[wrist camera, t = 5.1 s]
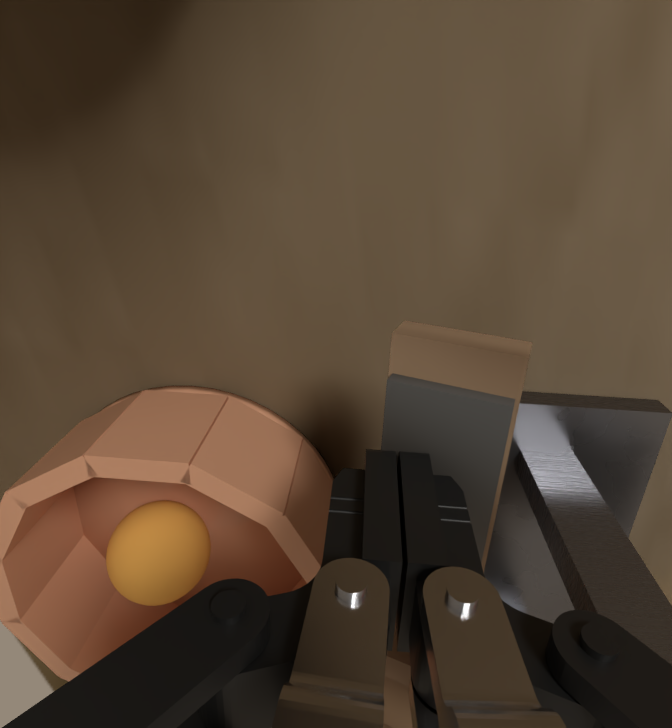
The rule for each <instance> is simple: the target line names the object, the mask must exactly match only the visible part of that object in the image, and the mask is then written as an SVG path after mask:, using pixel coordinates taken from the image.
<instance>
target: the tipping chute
mask: <svg viewBox="0 0 672 728" xmlns="http://www.w3.org/2000/svg"><path fill="white" fill-rule="evenodd" d="M532 343H533V342H528V341H522V340H516V339H510V338H504V337H499V336H493V335H487V334H481V333H475V332H469V331H463V330H457V329H452V328H446V327H440V326H434V325H428V324H422V323H416V322H410V321H404V322H403V323H402V324H400V325H399V326H398V327H397V328H396V329H395V330H394V331H393V332H392V339H391V350H390V362H389V373H388V379H387V388H386V400H385V411H384V423H383V434H382V446H381V450H387V451H395V452H396V464H397V460H398V453H399V451H402V452H416V453H429V455H430V459H431V465H432V471H433V475H444V476H451V477H452V478H453V479H454V480H455V482H456V483H457V484H458V485H459V486H460V488H461V489H462V490H463V492H464V496H465V500H466V504H467V510H468V512H469V516H470V524H472V528H473V532H474V536H475V540H476V544H477V548H478V552H479V556H480V561H481V565H482V569H483V573H484V569H485V565H486V560H487V555H488V551H489V546H490V541H491V536H492V532H493V527H494V522H495V518H496V513H497V508H498V503H499V499H500V494H501V489H502V485H503V480H504V475H505V470H506V466H507V461H508V456H509V451H510V447H511V442H512V437H513V433H514V428H515V423H516V418H517V414H518V409H519V404H520V400H521V395H522V390H523V385H524V381H525V376H526V371H527V367H528V362H529V357H530V352H531V348H532ZM410 674H411V665H410V652H399V651H397V639H396V622H395V630H394V638H393V647H392V651H387V656H386V665H385V679H384V698H383V699H384V721H383V728H413V727H412V719H411V711H410V703H409V695H408V688H409V681H410Z"/></svg>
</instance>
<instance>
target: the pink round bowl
mask: <svg viewBox="0 0 672 728" xmlns="http://www.w3.org/2000/svg"><path fill="white" fill-rule="evenodd" d="M333 480H334V478H333V476H332V474H331V472H330V470H329V468H328V466H327V464H326V462H325V461H324V459H323V458H322V457H321V455H320V454H319V452H318V451H317V450H316V448H315V447H314V446H313V445H312V444H311V443H310V441H309V440H308V439H307V438H306V437H305V436H304V435H303V434H302V433H301V432H300V431H299V430H297V429H296V428H295V427H294V426H293V425H291V424H290V423H289V422H288V421H287V420H285V419H283V418H282V417H280V416H279V415H277V414H276V413H274V412H273V411H271V410H270V409H268V408H266V407H264V406H262V405H260V404H258V403H256V402H254V401H252V400H249V399H246V398H244V397H241V396H238V395H235V394H233V393H229V392H225V391H221V390H217V389H212V388H205V387H197V386H165V387H157V388H151V389H147V390H143V391H139V392H135V393H132V394H130V395H127V396H125V397H123V398H120V399H118V400H116V401H115V402H113V403H111V404H110V405H108V406H106V407H104V408H103V409H102V410H101V411H100V412H98V413H97V414H95V415H93V416H91V417H89V418H86V419H84V420H82V421H80V422H79V423H78V424H77V425H76V426H75V427H74V428H73V429H72V430H71V431H70V432H69V433H68V434H67V435H66V436H64V437H63V438H62V439H61V440H60V441H59V442H58V443H57V444H56V445H55V446H54V447H53V448H52V449H51V450H50V451H49V452H47V453H46V454H45V455H44V456H43V457H42V458H41V459H40V460H39V461H38V462H37V463H36V464H35V465H34V466H33V467H32V468H30V469H29V470H28V471H27V472H26V473H25V474H24V475H23V476H22V477H21V478H20V479H19V480H18V481H17V482H16V483H15V484H14V485H12V486H11V487H10V488H9V489H8V490H7V491H6V492H5V493H4V496H3V498H2V501H1V503H0V620H1V622H2V624H4V626H6V627H7V628H8V629H9V630H10V631H11V632H12V633H13V634H14V635H15V636H16V637H17V638H18V639H19V640H20V641H21V642H22V643H23V644H24V645H26V646H27V647H28V648H29V649H30V650H31V651H32V652H33V653H34V654H35V655H36V656H37V657H38V658H39V659H40V660H41V661H42V662H43V663H44V664H46V665H47V666H48V667H49V668H50V669H51V670H52V671H53V672H54V673H55V674H56V675H57V676H60V678H62V679H64V680H67V681H70V680H72V679H73V678H75V677H76V676H78V675H79V674H81V673H82V672H84V671H85V670H86V669H88V668H89V667H91V666H92V665H94V664H95V663H97V662H98V661H100V660H101V659H102V658H104V657H105V656H107V655H108V654H110V653H111V652H113V651H114V650H116V649H117V648H118V647H120V646H121V645H123V644H124V643H126V642H127V641H129V640H130V639H131V638H133V637H134V636H136V635H137V634H139V633H140V632H142V631H143V630H145V629H146V628H147V627H149V626H150V625H152V624H153V623H155V622H156V621H158V620H159V619H161V618H162V617H163V616H165V615H166V614H168V613H169V612H171V611H172V610H174V609H175V608H177V607H178V606H179V605H181V604H182V603H184V602H185V601H187V600H188V599H190V598H191V597H192V596H194V595H195V594H197V593H198V592H200V591H201V590H203V589H204V588H206V587H207V586H209V585H211V584H213V583H215V582H217V581H221V580H225V579H235V578H238V579H245V580H248V581H251V582H253V583H255V584H257V585H258V586H260V587H261V588H262V589H263V590H264V591H265V593H266V595H267V596H272V595H277V594H282V593H287V592H290V591H294V590H296V589H299V588H301V587H303V586H304V585H306V584H307V583H309V582H310V581H311V580H312V579H313V578H314V577H315V576H316V574H317V573H318V571H319V570H320V567H321V564H322V559H323V552H324V544H325V537H326V529H327V521H328V514H329V506H330V499H331V491H332V483H333ZM160 500H169V501H175V502H179V503H182V504H184V505H187V506H188V507H190V508H191V509H193V510H194V511H195V512H196V513H197V514H198V515H199V516H200V517H201V518H202V519H203V521H204V523H205V525H206V527H207V529H208V532H209V535H210V542H211V552H210V558H209V562H208V565H207V568H206V570H205V572H204V574H203V576H202V578H201V579H200V580H199V582H198V583H197V584H196V585H195V586H194V588H193V589H192V590H191V591H189V592H188V593H187V594H186V595H184V596H182V597H181V598H179V599H178V600H175V601H173V602H171V603H167V604H164V605H157V606H147V605H141V604H137V603H135V602H132V601H130V600H128V599H127V598H125V597H124V596H123V595H121V594H120V593H119V592H118V591H117V589H116V588H115V587H114V585H113V584H112V582H111V580H110V578H109V575H108V571H107V566H106V553H107V547H108V543H109V540H110V538H111V535H112V533H113V532H114V530H115V528H116V527H117V525H118V524H119V523H120V521H121V520H122V519H123V518H124V517H125V516H126V515H127V514H129V513H130V512H131V511H133V510H134V509H136V508H138V507H140V506H142V505H144V504H146V503H150V502H154V501H160Z"/></svg>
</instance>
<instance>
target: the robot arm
mask: <svg viewBox="0 0 672 728" xmlns="http://www.w3.org/2000/svg"><path fill="white" fill-rule="evenodd" d="M395 622H396V639H397V651H399V652H410V665H411V674H410V681H409V688H408V695H409V703H410V711H411V719H412V727H413V728H672V665H671V664H670V663H668V662H667V661H666V660H664V659H663V658H662V657H660V656H659V655H658V654H656V653H655V652H654V651H653V650H651V649H650V648H649V647H647V646H646V645H645V644H643V643H642V642H641V641H639V640H638V639H637V638H636V637H634V636H633V635H632V634H630V633H629V632H628V631H626V630H625V629H624V628H622V627H621V626H620V625H618V624H617V623H615V622H614V621H612V620H610V619H609V618H607V617H605V616H602V615H600V614H597V613H594V612H591V611H586V610H570V611H567V612H564V613H562V614H561V615H559V616H558V617H557V618H556V620H555V622H554V624H553V623H551V622H548V621H545V620H542V619H540V618H537V617H534V616H531V615H529V614H526V613H523V612H521V611H519V610H517V609H515V608H513V607H511V606H510V605H508V604H507V603H505V602H504V601H503V600H502V599H501V597H500V595H499V593H498V591H497V590H496V588H495V587H494V586H493V585H492V584H491V582H489V581H488V580H487V579H486V578H485V576H484V573H483V569H482V565H481V561H480V556H479V552H478V548H477V544H476V540H475V536H474V532H473V528H472V524H470V516H469V512H468V510H467V504H466V500H465V496H464V492H463V490H462V489H461V488H460V486H459V485H458V484H457V483H456V482H455V480H454V479H453V478H452V477H451V476H444V475H433V471H432V465H431V459H430V455H429V453H416V452H402V451H399V453H398V460H397V464H396V452H395V451H387V450H373V449H366V455H365V469H364V470H362V469H348V468H343V469H342V470H341V471H340V473H339V474H338V475H337V476H336V478H335V479H334V480H333V483H332V491H331V499H330V506H329V514H328V521H327V529H326V537H325V544H324V552H323V559H322V564H321V567H320V570H319V571H318V573H317V574H316V576H315V577H314V578H313V579H312V580H311V581H310V582H309V583H307V584H306V585H304V586H303V587H301V588H299V589H296V590H294V591H290V592H287V593H282V594H277V595H272V596H267V595H266V593H265V591H264V590H263V589H262V588H261V587H260V586H258V585H257V584H255V583H253V582H251V581H248V580H245V579H238V578H235V579H225V580H221V581H217V582H215V583H213V584H211V585H209V586H207V587H206V588H204V589H203V590H201V591H200V592H198V593H197V594H195V595H194V596H192V597H191V598H190V599H188V600H187V601H185V602H184V603H182V604H181V605H179V606H178V607H177V608H175V609H174V610H172V611H171V612H169V613H168V614H166V615H165V616H163V617H162V618H161V619H159V620H158V621H156V622H155V623H153V624H152V625H150V626H149V627H147V628H146V629H145V630H143V631H142V632H140V633H139V634H137V635H136V636H134V637H133V638H131V639H130V640H129V641H127V642H126V643H124V644H123V645H121V646H120V647H118V648H117V649H116V650H114V651H113V652H111V653H110V654H108V655H107V656H105V657H104V658H102V659H101V660H100V661H98V662H97V663H95V664H94V665H92V666H91V667H89V668H88V669H86V670H85V671H84V672H82V673H81V674H79V675H78V676H76V677H75V678H73V679H72V680H70V681H69V682H68V683H66V684H65V685H63V686H62V687H60V688H59V689H57V690H56V691H55V692H53V693H52V694H50V695H49V696H47V697H46V698H44V699H43V700H41V701H40V702H39V703H37V704H36V705H34V706H33V707H31V708H30V709H28V710H27V711H25V712H24V713H23V714H21V715H20V716H18V717H17V718H15V719H14V720H12V721H11V722H10V723H8V724H7V725H5V726H4V727H2V728H383V721H384V699H383V698H384V679H385V665H386V656H387V651H392V647H393V638H394V630H395Z"/></svg>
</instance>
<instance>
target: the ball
mask: <svg viewBox="0 0 672 728" xmlns="http://www.w3.org/2000/svg"><path fill="white" fill-rule="evenodd" d="M210 552H211V542H210V535H209V532H208V529H207V527H206V525H205V523H204V521H203V519H202V518H201V517H200V516H199V515H198V514H197V513H196V512H195V511H194V510H193V509H191V508H190V507H188V506H187V505H184V504H182V503H179V502H175V501H169V500H160V501H154V502H150V503H146V504H144V505H142V506H140V507H138V508H136V509H134V510H133V511H131V512H130V513H129V514H127V515H126V516H125V517H124V518H123V519H122V520H121V521H120V523H119V524H118V525H117V527H116V528H115V530H114V532H113V533H112V535H111V538H110V540H109V543H108V547H107V553H106V566H107V571H108V575H109V578H110V580H111V582H112V584H113V585H114V587H115V588H116V589H117V591H118V592H119V593H120V594H121V595H123V596H124V597H125V598H127V599H128V600H130V601H132V602H135V603H137V604H141V605H147V606H157V605H164V604H167V603H171V602H173V601H175V600H178V599H179V598H181V597H182V596H184V595H186V594H187V593H188V592H189V591H191V590H192V589H193V588H194V586H195V585H196V584H197V583H198V582H199V580H200V579H201V578H202V576H203V574H204V572H205V570H206V568H207V565H208V562H209V558H210Z"/></svg>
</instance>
